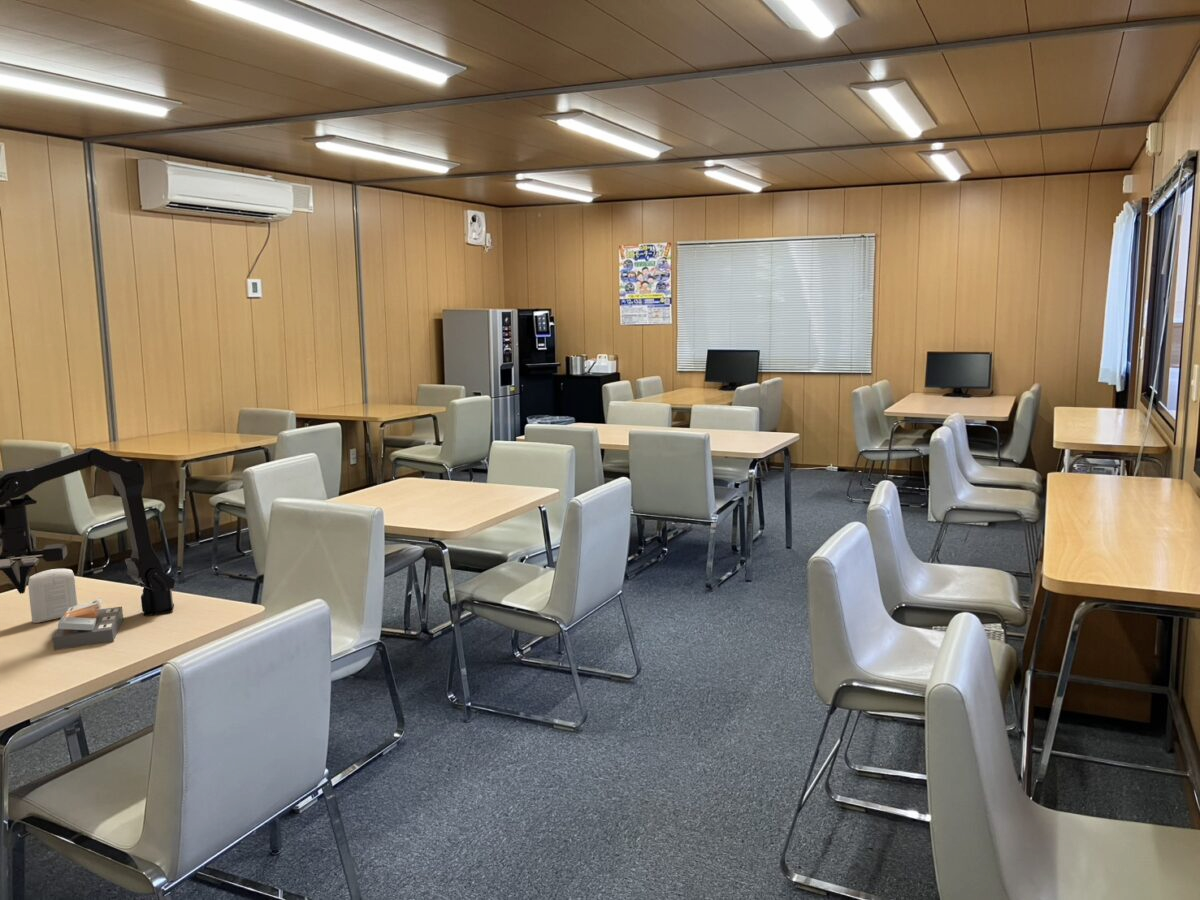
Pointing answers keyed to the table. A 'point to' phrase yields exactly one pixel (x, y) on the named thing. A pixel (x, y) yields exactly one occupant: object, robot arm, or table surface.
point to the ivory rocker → (86, 605)
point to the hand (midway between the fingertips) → (22, 593)
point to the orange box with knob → (84, 613)
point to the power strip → (91, 631)
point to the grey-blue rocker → (77, 623)
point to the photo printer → (51, 594)
